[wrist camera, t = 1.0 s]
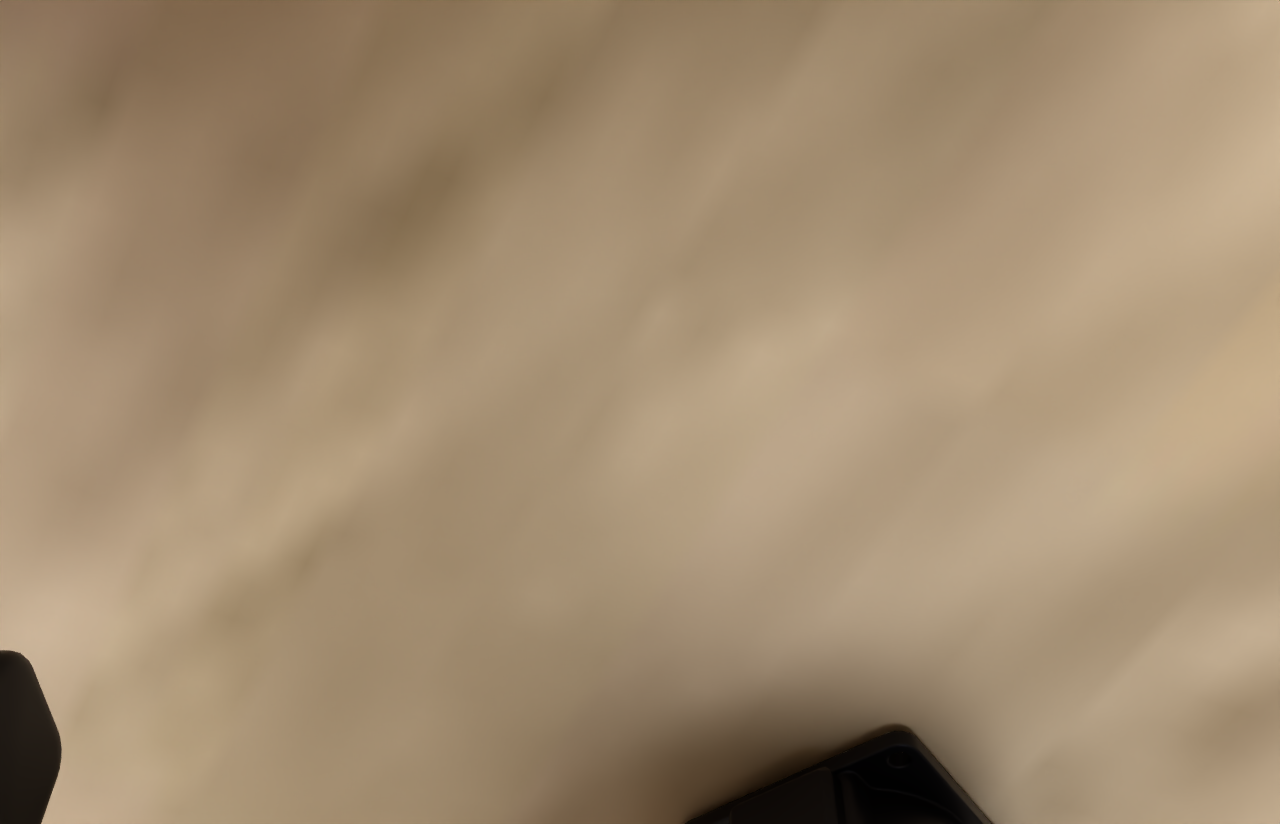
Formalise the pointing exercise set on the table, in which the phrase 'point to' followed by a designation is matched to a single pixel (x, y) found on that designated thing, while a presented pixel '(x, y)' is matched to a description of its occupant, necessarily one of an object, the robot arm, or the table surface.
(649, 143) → the table surface
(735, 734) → the table surface
